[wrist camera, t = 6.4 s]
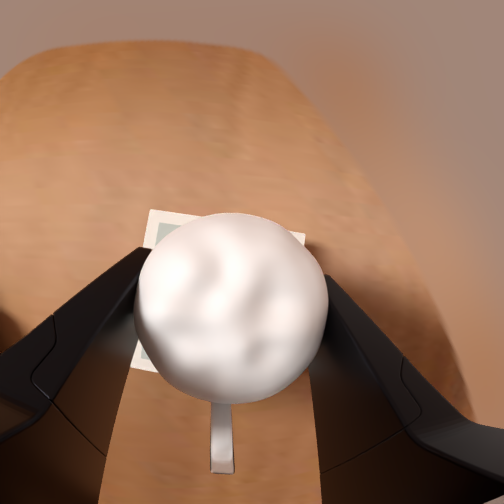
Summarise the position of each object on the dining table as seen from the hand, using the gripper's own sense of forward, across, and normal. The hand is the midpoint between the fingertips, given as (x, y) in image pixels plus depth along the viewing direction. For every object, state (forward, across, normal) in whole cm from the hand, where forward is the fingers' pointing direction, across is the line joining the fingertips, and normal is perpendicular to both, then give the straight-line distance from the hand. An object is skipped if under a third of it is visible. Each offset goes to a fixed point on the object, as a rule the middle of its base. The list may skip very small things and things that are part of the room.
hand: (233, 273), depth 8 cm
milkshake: (+4, 0, +6) cm, 7 cm away
